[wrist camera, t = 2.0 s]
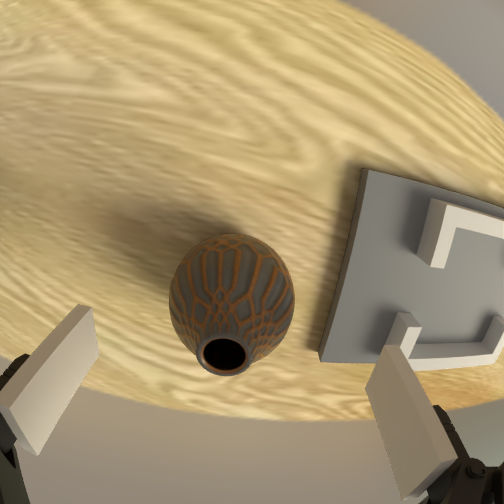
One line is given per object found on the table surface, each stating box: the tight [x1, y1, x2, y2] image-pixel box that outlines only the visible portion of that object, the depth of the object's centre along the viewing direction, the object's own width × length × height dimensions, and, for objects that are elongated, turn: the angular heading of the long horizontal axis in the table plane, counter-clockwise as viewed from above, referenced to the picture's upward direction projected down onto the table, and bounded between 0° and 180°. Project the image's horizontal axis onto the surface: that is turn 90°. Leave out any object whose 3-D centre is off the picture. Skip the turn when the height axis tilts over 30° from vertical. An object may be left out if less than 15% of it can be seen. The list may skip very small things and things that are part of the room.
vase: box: [169, 234, 295, 376], centre depth 17 cm, size 7×7×9 cm
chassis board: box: [318, 168, 504, 371], centre depth 19 cm, size 18×14×3 cm
